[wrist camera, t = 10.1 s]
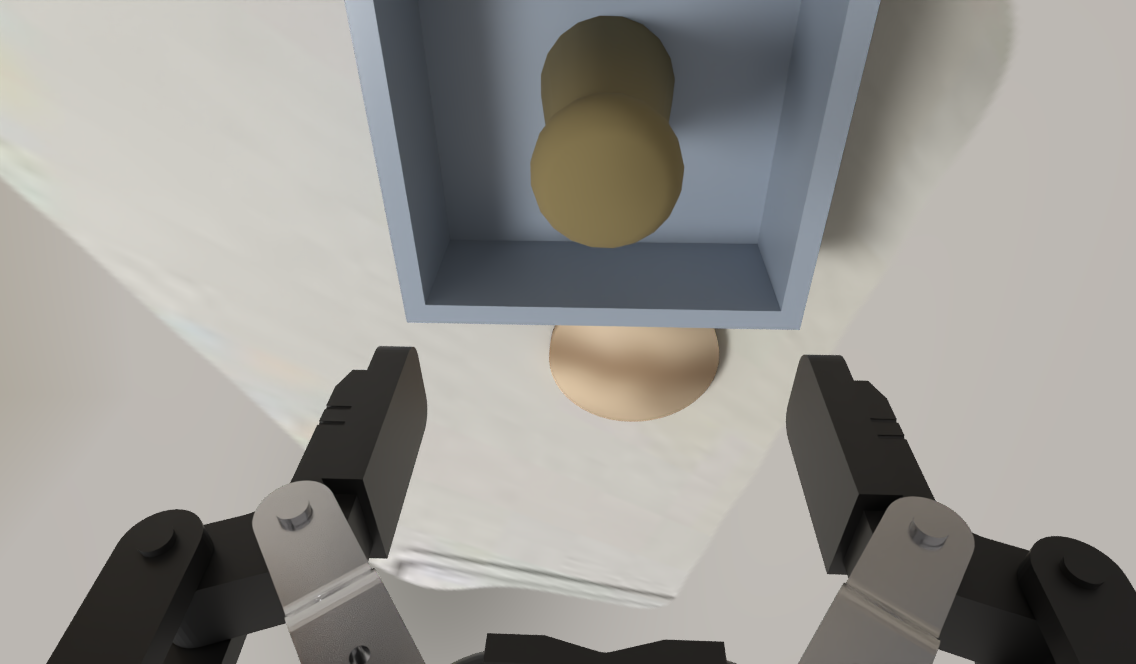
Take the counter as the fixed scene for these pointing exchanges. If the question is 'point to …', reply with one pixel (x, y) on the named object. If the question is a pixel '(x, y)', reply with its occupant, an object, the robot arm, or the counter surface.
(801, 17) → the bin
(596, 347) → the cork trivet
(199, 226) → the counter surface
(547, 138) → the pepper shaker
